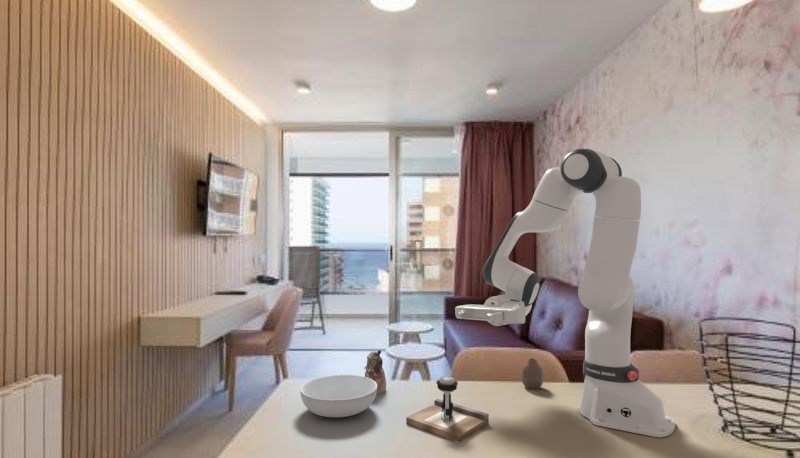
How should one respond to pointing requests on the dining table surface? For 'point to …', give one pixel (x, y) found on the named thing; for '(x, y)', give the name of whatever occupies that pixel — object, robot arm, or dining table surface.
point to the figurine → (376, 371)
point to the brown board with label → (458, 426)
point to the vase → (532, 375)
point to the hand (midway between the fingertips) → (474, 316)
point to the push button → (447, 395)
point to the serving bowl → (338, 395)
